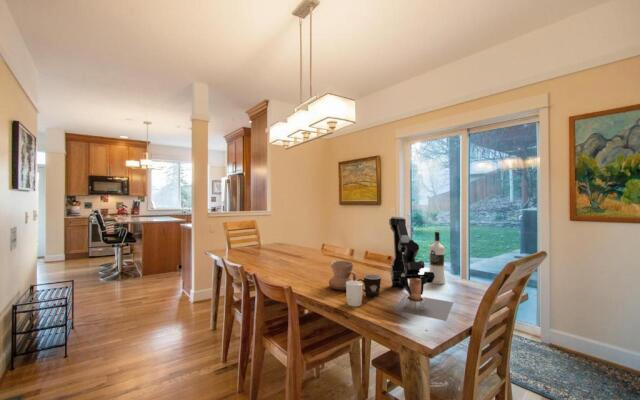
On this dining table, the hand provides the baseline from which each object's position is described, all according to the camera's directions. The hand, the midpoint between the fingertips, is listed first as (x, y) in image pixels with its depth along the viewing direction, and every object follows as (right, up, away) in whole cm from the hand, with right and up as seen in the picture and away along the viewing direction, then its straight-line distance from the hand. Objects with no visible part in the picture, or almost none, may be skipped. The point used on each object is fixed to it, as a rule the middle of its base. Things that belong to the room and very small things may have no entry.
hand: (415, 294), depth 130 cm
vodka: (+27, -7, +44) cm, 52 cm away
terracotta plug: (0, -6, +1) cm, 6 cm away
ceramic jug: (-30, -7, +31) cm, 44 cm away
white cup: (-26, -7, +8) cm, 28 cm away
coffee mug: (-18, -7, +19) cm, 27 cm away
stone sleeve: (0, -6, +1) cm, 6 cm away
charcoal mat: (+5, -7, +3) cm, 9 cm away
